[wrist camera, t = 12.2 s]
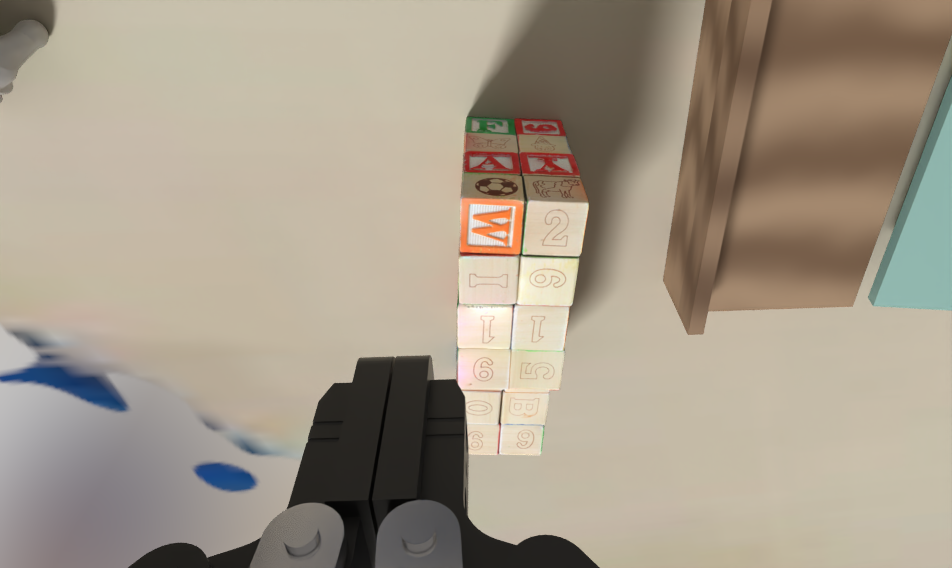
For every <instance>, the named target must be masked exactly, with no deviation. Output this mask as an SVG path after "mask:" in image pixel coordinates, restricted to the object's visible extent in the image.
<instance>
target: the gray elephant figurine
mask: <svg viewBox="0 0 952 568" xmlns="http://www.w3.org/2000/svg"><path fill="white" fill-rule="evenodd" d="M48 38H49V36H48V32H47V30H46V28H45V27H44V26H43V25H42V24H41V23H39V22H38V21H35V20H22V21H20V22H18V23H17V24H16V25H15V26H14V27H13V29H12V30H11V31H10V32H8V33H7V34H5V35H2V36H0V103H1V102H2V99H3V98H2V95H1V94H8V93H10V92H11V91H12V89H13V83H12V81H13V80H14V79H15V78H16V76H17V73H18V69H19V68H20V67H21V66H22V65H23V63H24V62H25V61H26V60H27V59H28V58H29V57H30V56H31V55H32V54H33V53H34V52H35V51H36V50H37V49H39V48H41V47H43V46H44V45H46V43H47V42H48Z"/></svg>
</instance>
